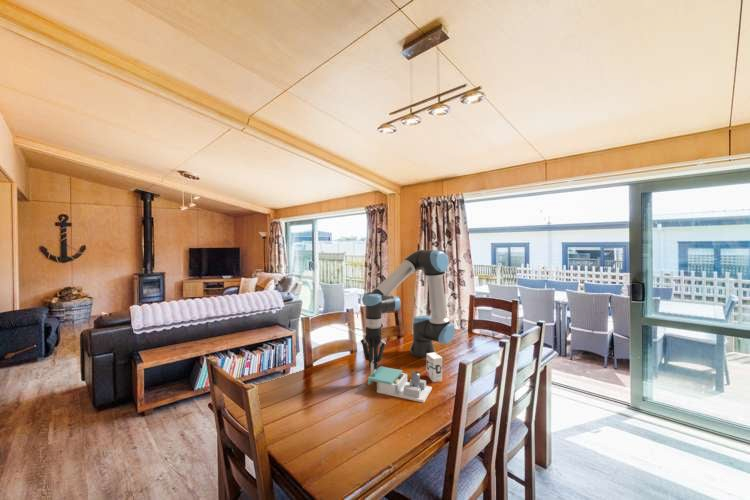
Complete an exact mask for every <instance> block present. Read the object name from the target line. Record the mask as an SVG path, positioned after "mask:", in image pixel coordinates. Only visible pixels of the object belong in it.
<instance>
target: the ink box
mask: <svg viewBox="0 0 750 500" xmlns="http://www.w3.org/2000/svg"><path fill="white" fill-rule="evenodd" d="M425 360H426V361H425V362H426V363H425V364H426V367H425V368H426V370H425V371H426V372H425V377H428V379H430V380H431V381H432V382H433V383H437V382H442V381H443V356H441V355H439V354H438V353H437V352H436V351H435V352H433V353H427V358H426V359H425Z"/></svg>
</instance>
